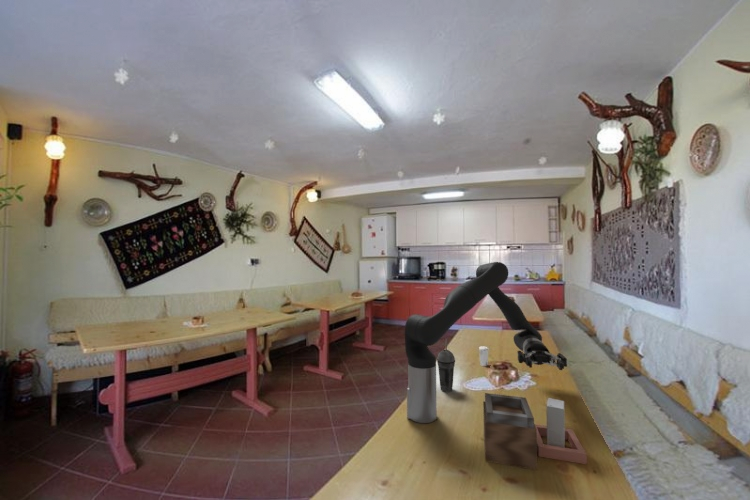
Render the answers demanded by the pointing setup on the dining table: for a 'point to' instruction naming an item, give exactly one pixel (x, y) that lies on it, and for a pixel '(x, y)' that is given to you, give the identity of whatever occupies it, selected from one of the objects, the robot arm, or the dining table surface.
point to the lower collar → (561, 453)
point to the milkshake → (483, 355)
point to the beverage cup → (446, 369)
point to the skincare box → (555, 423)
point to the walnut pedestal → (509, 431)
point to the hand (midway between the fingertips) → (545, 365)
